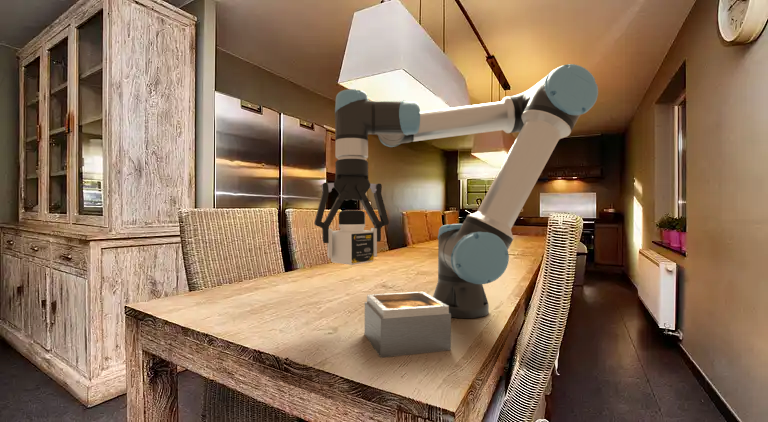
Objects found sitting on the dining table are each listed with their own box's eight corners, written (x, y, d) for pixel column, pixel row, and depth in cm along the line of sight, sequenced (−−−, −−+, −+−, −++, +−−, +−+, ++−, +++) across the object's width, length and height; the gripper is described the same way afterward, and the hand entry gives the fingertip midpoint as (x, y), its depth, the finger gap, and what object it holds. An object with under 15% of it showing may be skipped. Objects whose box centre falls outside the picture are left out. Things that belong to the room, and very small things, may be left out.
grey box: (424, 328, 82) (425, 291, 82) (450, 350, 70) (451, 305, 70) (364, 334, 79) (364, 294, 79) (380, 357, 66) (380, 310, 66)
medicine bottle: (352, 265, 79) (351, 209, 79) (330, 262, 83) (329, 210, 83) (374, 261, 84) (373, 209, 84) (352, 259, 89) (352, 210, 89)
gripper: (393, 163, 91) (393, 253, 90) (301, 160, 84) (301, 256, 84) (402, 159, 83) (403, 256, 83) (303, 155, 77) (303, 260, 77)
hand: (352, 256), depth 84 cm, fingers closed on medicine bottle, 10 cm apart
